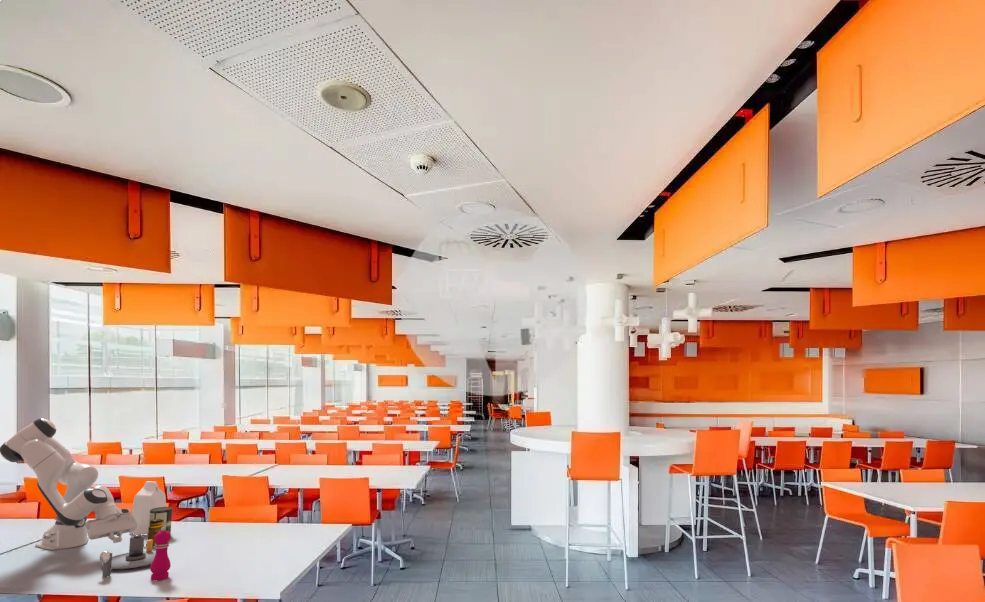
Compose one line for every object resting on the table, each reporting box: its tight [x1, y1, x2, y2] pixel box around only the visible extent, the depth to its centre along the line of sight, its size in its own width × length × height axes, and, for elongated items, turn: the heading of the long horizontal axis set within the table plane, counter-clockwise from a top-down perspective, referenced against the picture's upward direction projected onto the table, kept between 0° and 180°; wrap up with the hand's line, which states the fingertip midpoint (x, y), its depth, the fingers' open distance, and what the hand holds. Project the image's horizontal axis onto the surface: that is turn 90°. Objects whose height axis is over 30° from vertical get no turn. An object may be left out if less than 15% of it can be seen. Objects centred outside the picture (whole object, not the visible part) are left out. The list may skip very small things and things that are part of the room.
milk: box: [128, 480, 167, 536], centre depth 309 cm, size 12×12×26 cm
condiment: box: [147, 519, 163, 546], centre depth 283 cm, size 7×8×12 cm
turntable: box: [101, 539, 156, 570], centre depth 254 cm, size 24×24×6 cm
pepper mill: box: [149, 527, 172, 582], centre depth 235 cm, size 7×7×20 cm
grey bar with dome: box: [99, 550, 113, 578], centre depth 237 cm, size 4×3×10 cm
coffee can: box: [149, 506, 173, 535], centre depth 297 cm, size 10×10×14 cm
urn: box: [126, 534, 146, 561], centre depth 254 cm, size 8×8×10 cm
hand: (118, 541), depth 262 cm, fingers closed
